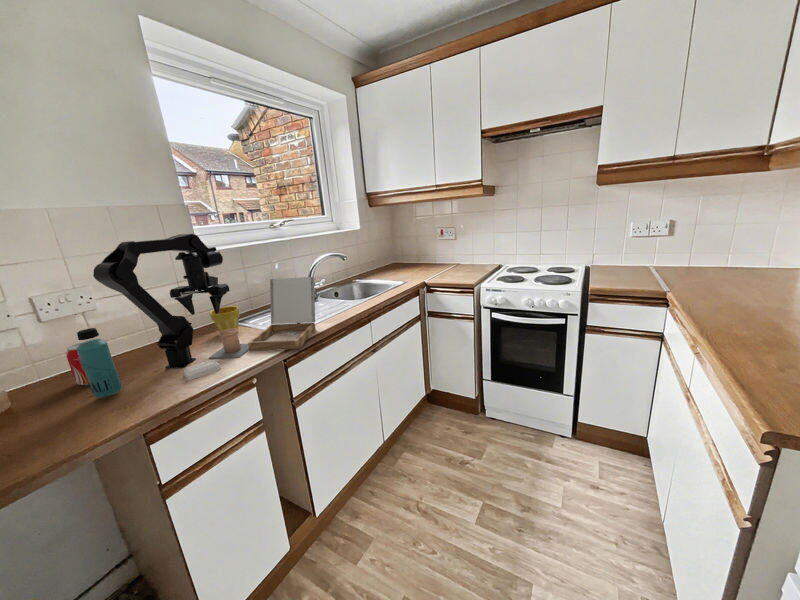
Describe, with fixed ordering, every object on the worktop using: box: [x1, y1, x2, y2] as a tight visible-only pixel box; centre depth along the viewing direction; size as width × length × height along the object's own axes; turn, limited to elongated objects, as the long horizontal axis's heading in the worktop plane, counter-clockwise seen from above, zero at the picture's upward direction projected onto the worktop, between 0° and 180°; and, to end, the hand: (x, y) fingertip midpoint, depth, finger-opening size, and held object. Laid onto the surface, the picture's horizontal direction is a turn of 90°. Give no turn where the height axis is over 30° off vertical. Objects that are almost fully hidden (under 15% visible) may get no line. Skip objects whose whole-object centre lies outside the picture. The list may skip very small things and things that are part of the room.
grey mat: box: [208, 343, 249, 360], centre depth 119 cm, size 11×11×1 cm
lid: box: [269, 276, 316, 325], centre depth 135 cm, size 18×18×1 cm
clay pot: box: [218, 328, 241, 353], centre depth 118 cm, size 6×6×7 cm
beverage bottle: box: [76, 327, 123, 398], centre depth 91 cm, size 6×7×20 cm
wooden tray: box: [247, 322, 317, 352], centre depth 126 cm, size 18×18×3 cm
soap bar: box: [183, 359, 222, 381], centre depth 104 cm, size 5×9×3 cm, turn 135°
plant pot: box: [209, 305, 241, 333], centre depth 137 cm, size 10×10×10 cm
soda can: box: [65, 342, 89, 386], centre depth 103 cm, size 7×7×12 cm
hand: (205, 313), depth 120 cm, fingers open, 9 cm apart
